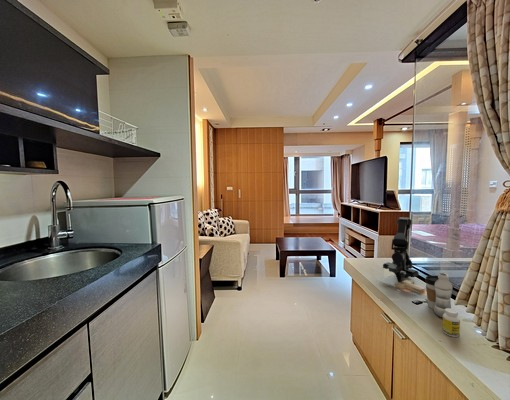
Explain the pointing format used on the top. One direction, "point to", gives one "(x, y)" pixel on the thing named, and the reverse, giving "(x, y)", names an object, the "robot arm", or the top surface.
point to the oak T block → (409, 286)
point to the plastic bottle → (442, 294)
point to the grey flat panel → (392, 281)
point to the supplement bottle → (451, 322)
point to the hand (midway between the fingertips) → (399, 283)
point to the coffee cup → (431, 290)
